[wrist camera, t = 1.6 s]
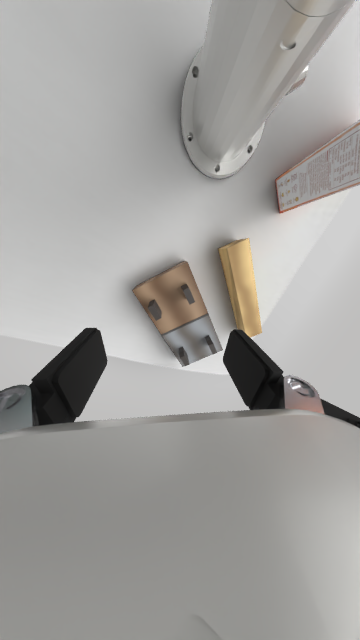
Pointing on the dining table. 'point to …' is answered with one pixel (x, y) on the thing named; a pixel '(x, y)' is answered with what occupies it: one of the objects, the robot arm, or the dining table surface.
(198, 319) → the door and jamb
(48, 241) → the dining table surface
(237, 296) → the bar
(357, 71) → the dining table surface
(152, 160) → the dining table surface
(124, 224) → the dining table surface
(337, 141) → the cracker box
